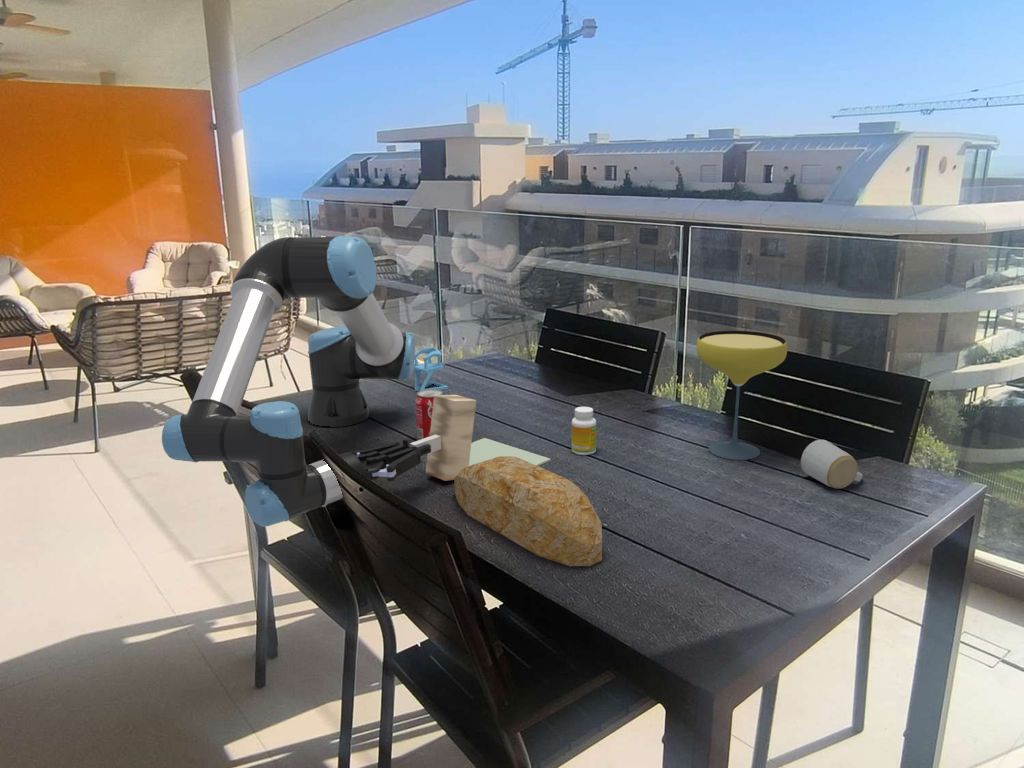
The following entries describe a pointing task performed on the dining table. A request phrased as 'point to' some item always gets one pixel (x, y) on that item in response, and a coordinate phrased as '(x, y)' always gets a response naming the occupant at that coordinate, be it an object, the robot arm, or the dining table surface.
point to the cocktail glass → (740, 372)
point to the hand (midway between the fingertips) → (438, 441)
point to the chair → (428, 369)
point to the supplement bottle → (583, 431)
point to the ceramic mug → (829, 464)
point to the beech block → (451, 435)
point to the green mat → (500, 452)
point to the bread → (532, 509)
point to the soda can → (424, 411)
